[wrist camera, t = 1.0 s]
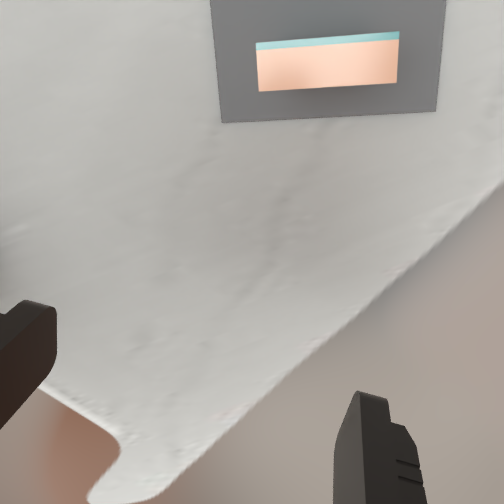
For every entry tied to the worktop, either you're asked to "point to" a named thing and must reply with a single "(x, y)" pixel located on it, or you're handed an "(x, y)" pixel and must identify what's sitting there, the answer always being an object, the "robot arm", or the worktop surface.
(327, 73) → the tile
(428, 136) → the worktop surface
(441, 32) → the mat
